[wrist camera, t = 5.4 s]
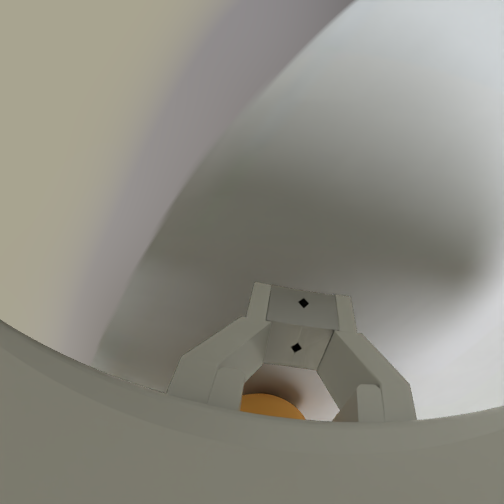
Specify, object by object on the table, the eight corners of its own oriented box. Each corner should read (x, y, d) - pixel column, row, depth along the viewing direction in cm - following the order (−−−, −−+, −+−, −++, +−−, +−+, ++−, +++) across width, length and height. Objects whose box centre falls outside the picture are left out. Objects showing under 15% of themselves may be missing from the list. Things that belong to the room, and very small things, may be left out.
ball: (300, 424, 17) (293, 499, 12) (217, 411, 18) (197, 484, 13) (324, 381, 14) (322, 481, 9) (217, 365, 15) (187, 462, 10)
